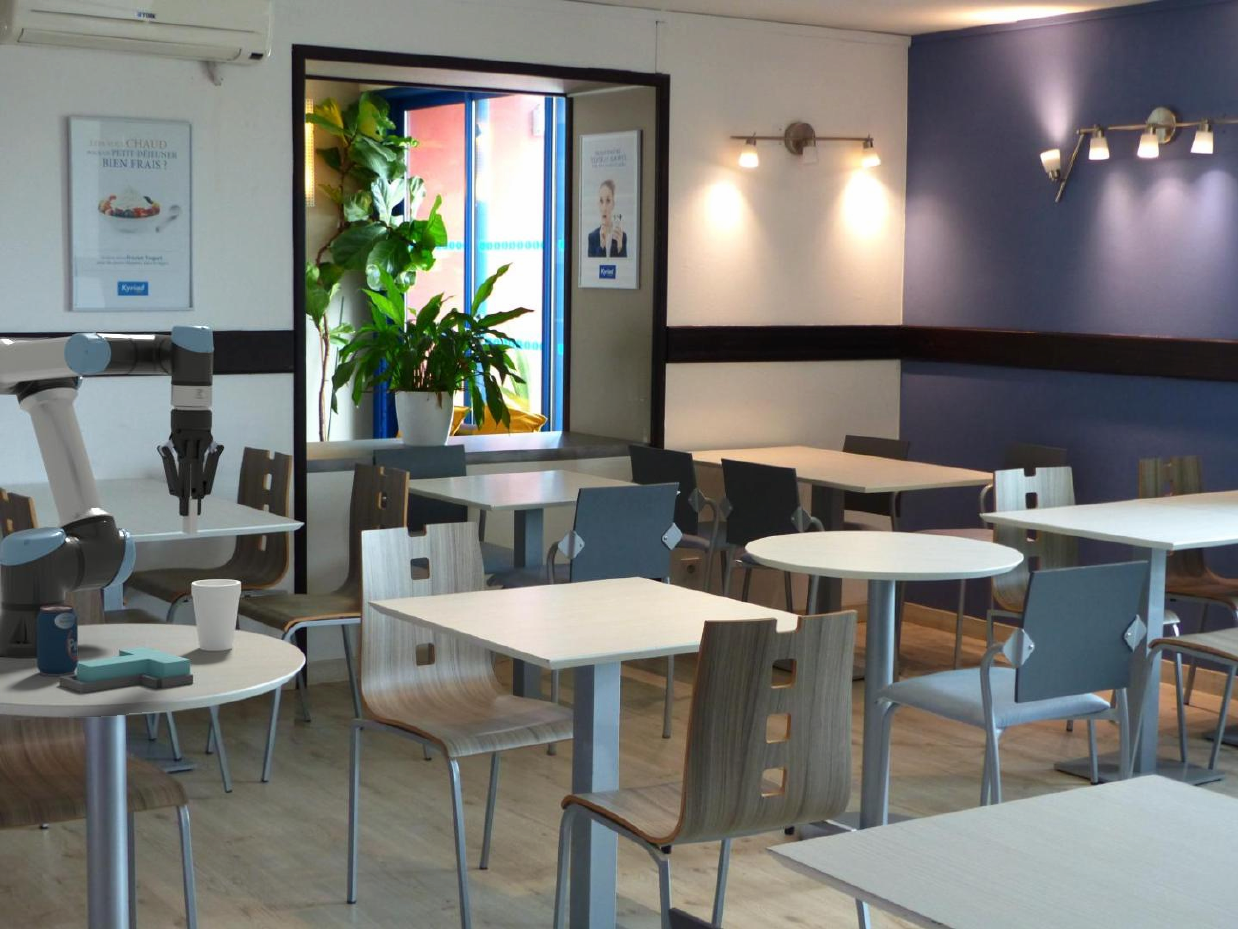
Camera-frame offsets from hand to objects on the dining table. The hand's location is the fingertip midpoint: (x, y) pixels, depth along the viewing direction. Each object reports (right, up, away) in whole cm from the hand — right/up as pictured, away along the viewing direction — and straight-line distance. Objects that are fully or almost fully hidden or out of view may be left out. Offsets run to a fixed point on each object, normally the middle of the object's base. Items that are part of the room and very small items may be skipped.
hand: (189, 533), depth 291 cm
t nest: (-7, -26, -17) cm, 32 cm away
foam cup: (+1, -24, +15) cm, 28 cm away
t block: (-7, -26, -16) cm, 31 cm away
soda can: (-21, -25, -11) cm, 34 cm away
